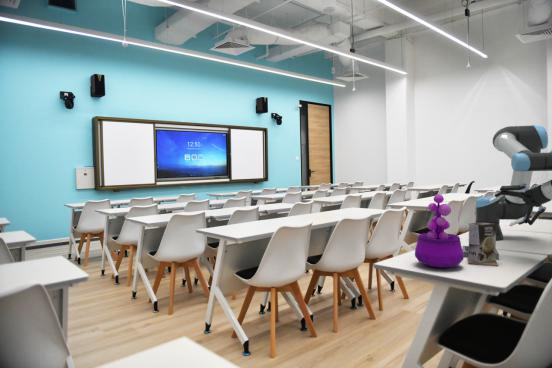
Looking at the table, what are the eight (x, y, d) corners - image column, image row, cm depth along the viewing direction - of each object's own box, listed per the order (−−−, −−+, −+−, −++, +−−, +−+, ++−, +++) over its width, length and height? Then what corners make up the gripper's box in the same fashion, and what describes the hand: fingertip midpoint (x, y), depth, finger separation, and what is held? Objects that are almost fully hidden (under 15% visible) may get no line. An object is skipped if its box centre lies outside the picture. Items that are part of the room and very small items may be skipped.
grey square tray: (462, 250, 193) (462, 244, 192) (495, 252, 187) (495, 246, 187) (463, 257, 180) (463, 250, 180) (498, 259, 174) (498, 252, 174)
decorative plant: (469, 264, 167) (469, 193, 165) (454, 274, 153) (455, 196, 151) (424, 258, 179) (424, 191, 178) (407, 266, 166) (407, 194, 164)
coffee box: (480, 263, 166) (480, 225, 165) (468, 260, 172) (468, 223, 171) (496, 261, 169) (496, 223, 168) (483, 257, 175) (483, 221, 174)
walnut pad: (467, 258, 178) (467, 256, 178) (495, 260, 173) (495, 258, 173) (468, 264, 168) (468, 262, 168) (498, 266, 163) (498, 264, 163)
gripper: (523, 172, 162) (479, 194, 179) (565, 220, 160) (516, 238, 177) (528, 164, 167) (484, 187, 184) (568, 212, 165) (521, 230, 181)
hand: (500, 212), depth 180 cm, fingers open, 13 cm apart
